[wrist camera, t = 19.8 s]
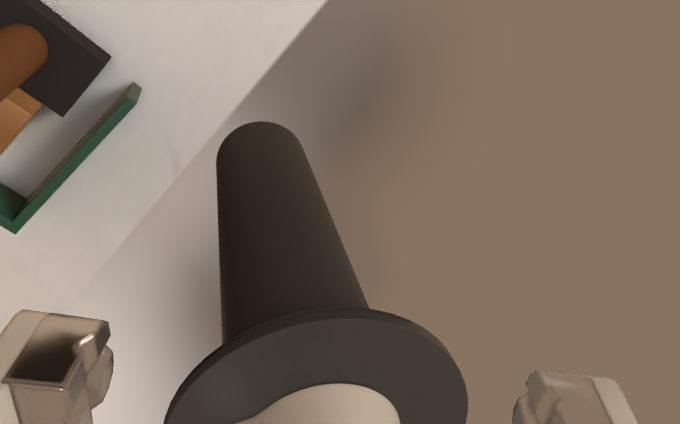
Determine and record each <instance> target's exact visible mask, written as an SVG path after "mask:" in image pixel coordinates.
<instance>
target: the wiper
mask: <svg viewBox="0 0 680 424" xmlns="http://www.w3.org/2000/svg"><path fill="white" fill-rule="evenodd" d="M110 58H111V56H110V55H109V54H108V53H106V52H105V51H104V50H103V49H101V48H100V47H99V46H97V45H96V44H95V43H94V42H92V41H91V40H90V39H89V38H87V37H86V36H85V35H83V34H82V33H81V32H80V31H78V30H77V29H76V28H74V27H73V26H72V25H71V24H69V23H68V22H67V21H66V20H64V19H63V18H62V17H60V16H59V15H58V14H57V13H55V12H54V11H53V10H52V9H50V8H49V7H48V6H46V5H45V4H44V3H43V2H41V1H40V0H0V102H1V101H2V100H4V99H5V98H6V97H7V96H8V95H9V94H10V93H11V92H13V91H14V90H15V89H16V88H17V87H20V88H21V89H23V90H24V91H25V92H27V93H28V94H30V95H31V96H33V97H34V98H36V99H37V100H38V101H40V102H41V103H43V104H44V105H46V106H47V107H49V108H50V109H51V110H53V111H54V112H56V113H57V114H59V115H60V116H62V117H63V116H64V115H65V114H66V113H67V112H68V110H69V109H70V108H71V107H72V105H73V104H74V103H75V102H76V101H77V99H78V98H79V97H80V96H81V95H82V93H83V92H84V91H85V90H86V88H87V87H88V86H89V85H90V84H91V82H92V81H93V80H94V79H95V77H96V76H97V75H98V74H99V73H100V71H101V70H102V69H103V68H104V67H105V65H106V64H107V62H108V61H109V60H110Z"/></svg>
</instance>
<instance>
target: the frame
mask: <svg viewBox="0 0 680 424" xmlns="http://www.w3.org/2000/svg"><path fill="white" fill-rule="evenodd" d="M141 90H142V89H141V88H140V87H139V86H138V85H137V84H135V83H133V84H132V85H131V86H130V87H129V88H128V89H127V90H126V91H125V92H124V94H123V95H122V96H121V97H120V98H119V99H118V100H117V101H116V102H115V103H114V104H113V106H112V107H111V108H110V109H109V110H108V111H107V112H106V113H105V114H104V115H103V116H102V118H101V119H100V120H99V121H98V122H97V123H96V124H95V125H94V126H93V127H92V128H91V130H90V131H89V132H88V133H87V134H86V135H85V136H84V137H83V138H82V139H81V140H80V142H79V143H78V144H77V145H76V146H75V147H74V148H73V149H72V150H71V151H70V152H69V154H68V155H67V156H66V157H65V158H64V159H63V160H62V161H61V162H60V163H59V164H58V166H57V167H56V168H55V169H54V170H53V171H52V172H51V173H50V174H49V175H48V177H47V178H46V179H45V180H44V181H43V182H42V183H41V184H40V185H39V186H38V187H37V189H36V190H35V191H34V192H33V193H32V194H31V195H30V196H29V197H28V198H27V199H25V198H23V197H21V196H20V195H18V194H17V193H15V192H14V191H12V190H10V189H9V188H7V187H6V186H4V185H3V184H1V183H0V226H2V227H4V228H5V229H7V230H9V231H10V232H12V233H14V234H16V233H17V232H18V231H19V230H20V229H21V228H22V227H23V226H24V225H25V223H26V222H27V221H28V220H29V219H30V218H31V217H32V216H33V215H34V214H35V213H36V212H37V211H38V209H39V208H40V207H41V206H42V205H43V204H44V203H45V202H46V201H47V200H48V199H49V198H50V196H51V195H52V194H53V193H54V192H55V191H56V190H57V189H58V188H59V187H60V186H61V185H62V184H63V182H64V181H65V180H66V179H67V178H68V177H69V176H70V175H71V174H72V173H73V172H74V171H75V170H76V168H77V167H78V166H79V165H80V164H81V163H82V162H83V161H84V160H85V159H86V158H87V157H88V155H89V154H90V153H91V152H92V151H93V150H94V149H95V148H96V147H97V146H98V145H99V144H100V143H101V141H102V140H103V139H104V138H105V137H106V136H107V135H108V134H109V133H110V132H111V131H112V130H113V129H114V127H115V126H116V125H117V124H118V123H119V122H120V121H121V120H122V119H123V118H124V117H125V116H126V114H127V113H128V112H129V111H130V110H131V109H132V108H133V107H134V106H135V105H136V103H137V101H138V98H139V95H140V93H141Z"/></svg>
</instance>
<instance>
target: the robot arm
mask: <svg viewBox="0 0 680 424" xmlns="http://www.w3.org/2000/svg"><path fill="white" fill-rule="evenodd" d="M110 335H111V334H110V328H109V323H108V322H107V321H104V320H98V319H91V318H84V317H77V316H70V315H63V314H56V313H46V312H39V311H31V310H24V309H23V310H21V311H20V312H18V313H17V314H15V315H14V316H13V318H12V319H11V320H10V322H9V323H8V324H7V326H6V327H5V328H4V330H3V331H2V332H1V334H0V424H93V420H92V413H91V409H93V408H94V407H96V406H97V405H99V404H100V403H102V402H103V400H104V398H105V395H106V393H107V391H108V388H109V385H110V381H111V377H112V373H113V362H114V361H113V352H112V351H111V349H110V348H109V347H108V346H106V343H107V341H108V339H109V337H110ZM526 385H527V388H528V391H529V392H528V393H526V394H524V395H522V396H521V397H519V398H518V400H517V402H516V405H515V407H514V409H513V418H512V424H637V421H636V420H635V417H634V416H633V414H632V412H631V410H630V408H629V406H628V404H627V402H626V400H625V398H624V396H623V394H622V392H621V390H620V388H619V386H618V384H617V383H616V382H615V381H614V380H612V379H610V378H602V377H593V376H583V375H576V374H566V373H556V372H547V371H537V370H535V371H534V372H533V373H531V374H530V376H529V378H528V380H527V382H526ZM234 424H401V423H400V419H399V416H398V413H397V411H396V409H395V407H394V406H393V404H392V403H391V402H390V401H389V400H388V399H387V398H386V397H384V396H383V395H381V394H380V393H378V392H376V391H374V390H372V389H369V388H367V387H363V386H359V385H354V384H343V383H335V384H323V385H317V386H312V387H309V388H305V389H302V390H299V391H296V392H294V393H291V394H289V395H287V396H285V397H283V398H281V399H279V400H277V401H276V402H274V403H273V404H271V405H270V406H268V407H267V408H266V409H264V410H263V411H261V412H260V413H259V414H257V415H255V416H254V417H252V418H249V419H246V420H243V421H240V422H237V423H234Z"/></svg>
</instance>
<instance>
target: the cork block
mask: <svg viewBox="0 0 680 424" xmlns="http://www.w3.org/2000/svg"><path fill="white" fill-rule="evenodd" d="M42 105H43V103H41V102H40V101H38V100H37V99H36V98H34V97H33V96H31V95H30V94H28V93H27V92H25V91H24V90H23V89H21V88H20V87H17V88H16V89H15V90H14V91H13V92H11V93H10V94H9V95H8V96H7V97H6V98H5V99H4V100H2V101H1V102H0V156H1V154H2V153H3V152H4V151H5V150H6V149H7V148H8V147H9V145H10V144H11V143H12V142H13V141H14V139H15V138H16V137H17V136H18V134H19V133H20V132H21V131H22V129H23V128H24V127H25V126H26V125H27V123H28V122H29V121H30V120H31V118H32V117H33V116H34V115H35V113H36V112H37V111H38V110H39V108H40V107H41V106H42Z"/></svg>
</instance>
